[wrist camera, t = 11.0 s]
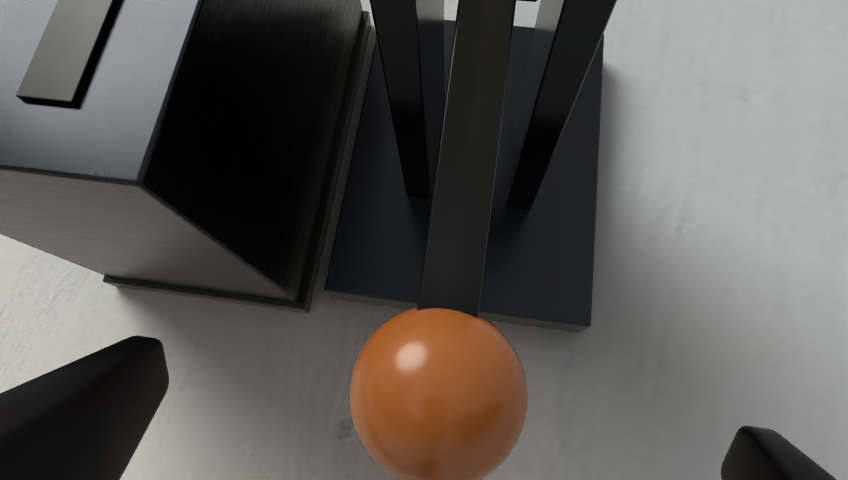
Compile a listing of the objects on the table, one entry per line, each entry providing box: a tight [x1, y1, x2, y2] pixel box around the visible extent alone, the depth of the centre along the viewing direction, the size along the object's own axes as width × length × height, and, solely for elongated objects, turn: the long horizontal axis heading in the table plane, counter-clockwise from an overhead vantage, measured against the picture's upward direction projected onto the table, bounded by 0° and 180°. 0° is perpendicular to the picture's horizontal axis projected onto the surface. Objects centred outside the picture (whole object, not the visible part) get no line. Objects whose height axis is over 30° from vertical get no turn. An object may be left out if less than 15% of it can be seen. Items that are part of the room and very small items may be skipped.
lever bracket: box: [324, 0, 617, 332], centre depth 16 cm, size 13×10×14 cm
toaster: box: [0, 0, 371, 313], centre depth 18 cm, size 14×8×12 cm, turn 172°
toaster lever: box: [349, 0, 537, 480], centre depth 10 cm, size 13×3×3 cm, turn 172°
